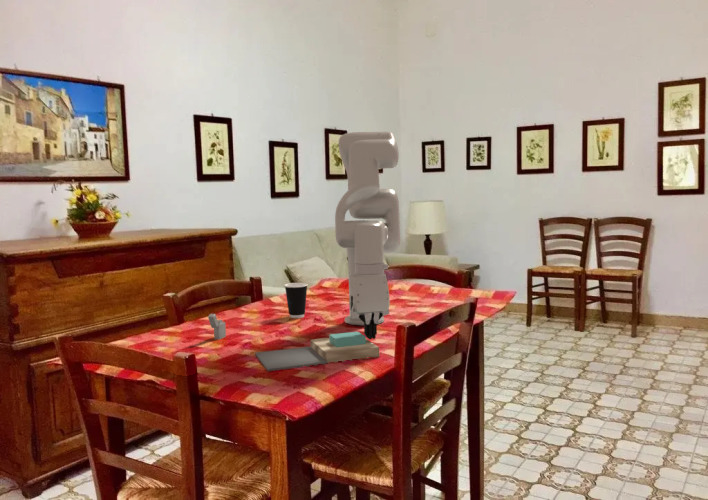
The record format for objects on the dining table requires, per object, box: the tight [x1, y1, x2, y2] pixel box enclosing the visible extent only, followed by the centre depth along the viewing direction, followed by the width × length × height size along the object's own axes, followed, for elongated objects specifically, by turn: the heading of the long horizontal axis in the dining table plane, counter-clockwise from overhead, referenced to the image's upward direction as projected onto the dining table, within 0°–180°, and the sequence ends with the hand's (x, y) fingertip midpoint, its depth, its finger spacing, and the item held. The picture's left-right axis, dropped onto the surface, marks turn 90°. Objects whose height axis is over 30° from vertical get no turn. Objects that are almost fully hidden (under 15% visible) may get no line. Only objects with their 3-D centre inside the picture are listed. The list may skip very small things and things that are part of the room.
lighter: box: [207, 313, 227, 341], centre depth 179 cm, size 7×2×8 cm, turn 164°
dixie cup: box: [283, 282, 309, 319], centre depth 207 cm, size 8×8×11 cm
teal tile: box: [328, 331, 367, 347], centre depth 161 cm, size 6×8×2 cm
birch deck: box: [310, 337, 380, 364], centre depth 161 cm, size 15×14×2 cm
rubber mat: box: [254, 346, 329, 372], centre depth 156 cm, size 16×15×1 cm
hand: (370, 337), depth 163 cm, fingers closed
